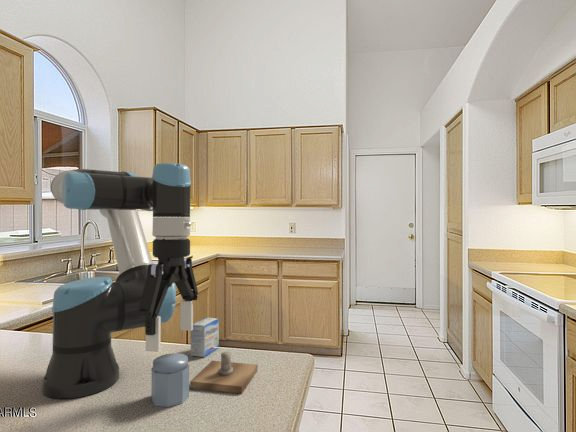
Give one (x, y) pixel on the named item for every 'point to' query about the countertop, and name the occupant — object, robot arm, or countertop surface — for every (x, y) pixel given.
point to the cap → (170, 380)
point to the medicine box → (205, 337)
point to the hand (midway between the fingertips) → (171, 339)
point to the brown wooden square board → (224, 375)
